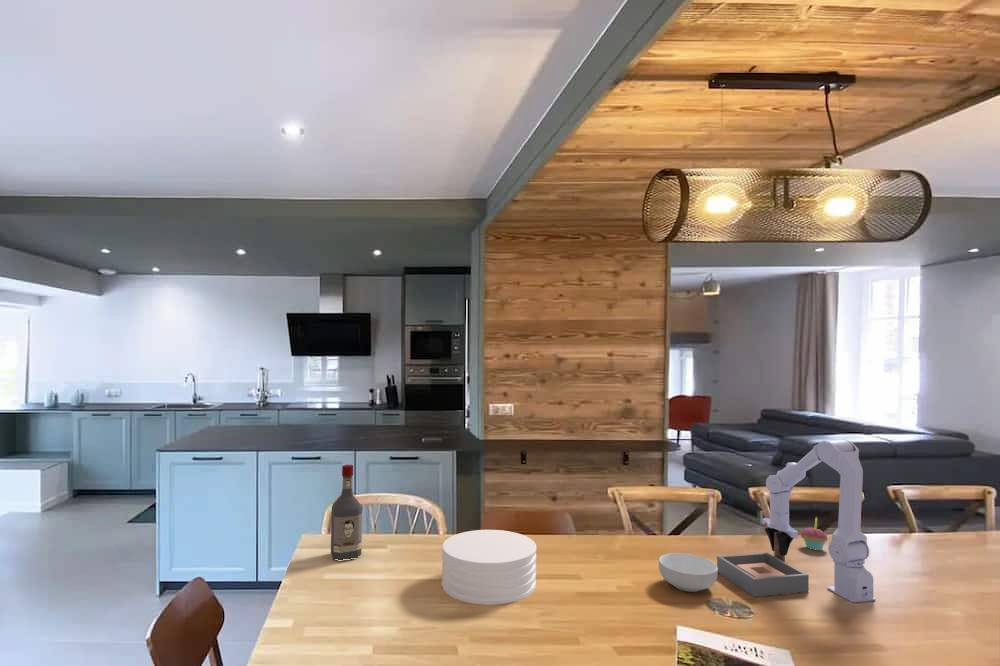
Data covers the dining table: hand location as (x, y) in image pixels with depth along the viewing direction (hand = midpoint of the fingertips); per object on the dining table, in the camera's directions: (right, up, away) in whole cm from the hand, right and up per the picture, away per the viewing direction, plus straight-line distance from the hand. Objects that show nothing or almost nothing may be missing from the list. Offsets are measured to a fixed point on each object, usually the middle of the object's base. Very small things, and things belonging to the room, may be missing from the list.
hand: (779, 552), depth 185 cm
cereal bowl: (-37, -3, -19) cm, 42 cm away
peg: (0, -3, 0) cm, 3 cm away
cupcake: (+19, -4, +14) cm, 24 cm away
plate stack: (-96, -2, -19) cm, 98 cm away
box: (-13, -3, -15) cm, 20 cm away
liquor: (-144, -2, +1) cm, 144 cm away
